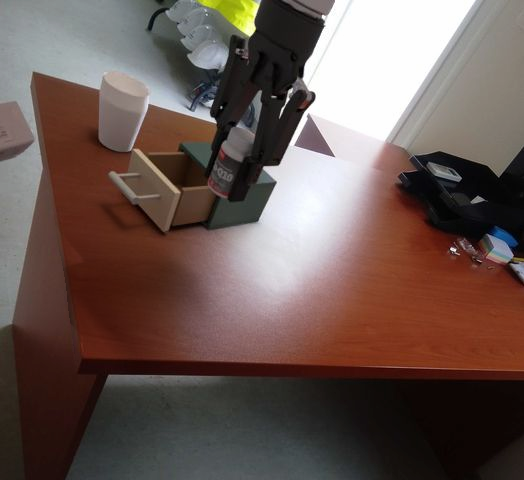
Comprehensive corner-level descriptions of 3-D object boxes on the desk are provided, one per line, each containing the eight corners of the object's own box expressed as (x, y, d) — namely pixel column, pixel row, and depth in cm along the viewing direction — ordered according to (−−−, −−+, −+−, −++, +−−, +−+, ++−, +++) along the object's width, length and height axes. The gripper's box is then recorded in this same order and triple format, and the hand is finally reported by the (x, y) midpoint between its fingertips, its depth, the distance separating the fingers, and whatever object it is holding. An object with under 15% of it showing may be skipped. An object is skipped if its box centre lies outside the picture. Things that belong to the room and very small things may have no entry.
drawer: (134, 236, 75) (145, 196, 70) (94, 190, 79) (102, 148, 74) (218, 222, 89) (233, 187, 83) (181, 183, 92) (192, 148, 87)
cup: (146, 153, 96) (160, 96, 88) (114, 158, 90) (126, 98, 82) (116, 129, 98) (127, 70, 90) (82, 133, 91) (91, 70, 83)
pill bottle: (200, 182, 64) (220, 124, 58) (222, 178, 67) (243, 124, 62) (223, 202, 63) (246, 146, 57) (244, 197, 66) (268, 144, 61)
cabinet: (207, 230, 87) (225, 186, 81) (166, 187, 91) (180, 142, 85) (258, 221, 97) (277, 182, 91) (219, 182, 101) (234, 142, 95)
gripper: (372, 50, 50) (280, 224, 65) (268, -27, 55) (206, 151, 70) (334, 38, 44) (244, 231, 60) (223, -45, 50) (167, 151, 65)
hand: (224, 187), depth 65 cm, fingers closed on pill bottle, 5 cm apart
